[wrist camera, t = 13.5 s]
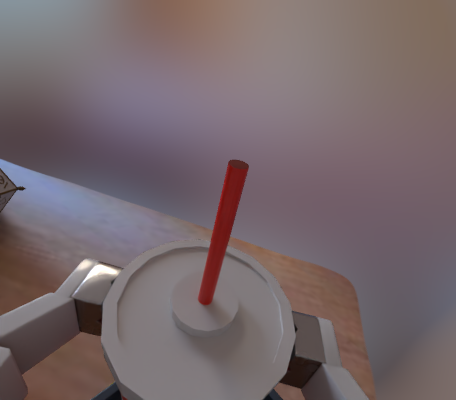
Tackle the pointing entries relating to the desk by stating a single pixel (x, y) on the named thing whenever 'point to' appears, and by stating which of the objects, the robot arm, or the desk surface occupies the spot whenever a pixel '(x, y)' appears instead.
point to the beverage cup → (198, 318)
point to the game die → (6, 189)
